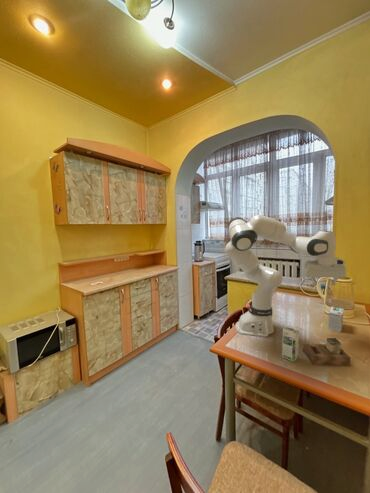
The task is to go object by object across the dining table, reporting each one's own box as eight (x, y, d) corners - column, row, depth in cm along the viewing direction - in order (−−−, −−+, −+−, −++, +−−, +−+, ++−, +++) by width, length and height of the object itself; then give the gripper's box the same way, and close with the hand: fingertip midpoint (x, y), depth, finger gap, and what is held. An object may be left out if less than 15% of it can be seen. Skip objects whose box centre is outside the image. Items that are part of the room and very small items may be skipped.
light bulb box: (329, 322, 138) (330, 306, 137) (342, 325, 134) (344, 308, 133) (327, 329, 130) (328, 312, 129) (341, 332, 126) (342, 315, 125)
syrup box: (281, 357, 106) (282, 329, 104) (286, 351, 110) (287, 324, 108) (294, 362, 102) (295, 333, 100) (298, 356, 106) (299, 328, 104)
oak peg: (330, 360, 103) (331, 342, 102) (325, 355, 107) (326, 337, 106) (339, 360, 102) (340, 343, 101) (334, 355, 106) (335, 338, 105)
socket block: (312, 364, 101) (312, 356, 100) (302, 351, 110) (303, 343, 110) (349, 365, 99) (350, 357, 98) (336, 351, 109) (337, 344, 108)
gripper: (307, 261, 117) (306, 286, 119) (348, 261, 115) (346, 286, 117) (302, 259, 124) (301, 283, 125) (341, 258, 121) (339, 283, 123)
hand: (323, 284), depth 121 cm, fingers open, 8 cm apart
